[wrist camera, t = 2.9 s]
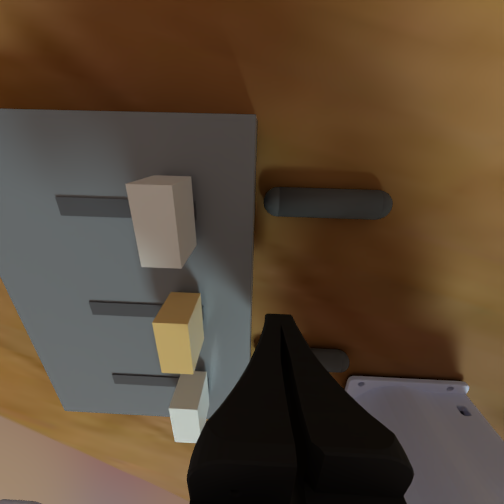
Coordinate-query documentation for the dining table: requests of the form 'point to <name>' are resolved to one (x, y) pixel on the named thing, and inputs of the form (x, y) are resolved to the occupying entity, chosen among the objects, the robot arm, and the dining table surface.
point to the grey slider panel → (124, 248)
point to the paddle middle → (179, 332)
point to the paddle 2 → (189, 407)
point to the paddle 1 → (163, 220)
